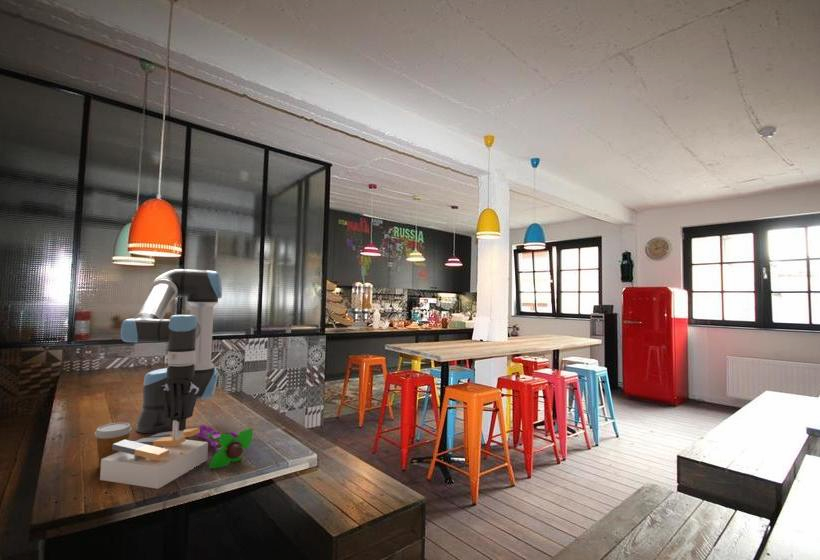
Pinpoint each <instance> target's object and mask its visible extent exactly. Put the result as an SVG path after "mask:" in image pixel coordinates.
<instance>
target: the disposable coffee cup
mask: <svg viewBox="0 0 820 560" xmlns="http://www.w3.org/2000/svg"><path fill="white" fill-rule="evenodd" d="M132 429H133V427H131V424H130V422H129V423H128V422H113V423H108V424H103V425H101V426H99V427H97V428H96V430H95V432H94V436H95V437H96V448H97V458H98V468H99V469H101V459H103V458H105V457H108V456H110V455H113V454H115V453H117V452H120V451H116V450H112V446H113V444H114V443H117V442H120V441H122V440H129V438H130V433H131V431H132Z"/></svg>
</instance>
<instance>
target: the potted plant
mask: <svg viewBox="0 0 820 560" xmlns="http://www.w3.org/2000/svg"><path fill="white" fill-rule="evenodd" d="M199 428H200V433H198V434H195V436H197V437H200V438H202V439H204V440H205V441H207V442H210V443H209V446H212V447H214V449H215V453H214V455H213V457H212V459H211V462H210V463H209V468H211V469H217V468H216V467H218V468H223V467H226V466H228V465H229V464H230V463H231V462H232V463H233V462H237V461H240V460H241V459H242V454H243V452H244V450H246V449H248V448H249V447H250V445H251V444H252V440H253V433H254V432H253V428H248V429H245V430H243V431H240V432H239V433H238V434H236V433H235V432H234V431H230V432H226V433H220V432H218V431H217V432H216V431H215V430H214V428H212V427H208V426H206V425H205V424H202V425H200V426H199ZM216 441H217V442H216ZM219 444H220V445H221V447H219V446H218V445H219ZM217 446H218V447H217Z"/></svg>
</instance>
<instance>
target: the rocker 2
mask: <svg viewBox="0 0 820 560" xmlns="http://www.w3.org/2000/svg"><path fill="white" fill-rule="evenodd" d="M198 433H200V427H194V428H193V427H192V428H185V430H184V436H185V438H190V437H194V436H196V434H198ZM154 437H172V430H169V431H164V432H158V433H154V434H153V435H151V436H148V438H154Z"/></svg>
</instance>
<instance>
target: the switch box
mask: <svg viewBox="0 0 820 560" xmlns="http://www.w3.org/2000/svg"><path fill="white" fill-rule="evenodd" d="M158 447H160V448H164V449H169V455H167V456H165V457H163V458H161V459H159V460H154V459H150V458H146V457H141V456H137V455H133V454H129V453H124V452H117V453H115V454H113V455H110V456H108V457H105V458H103V459H101V468H100V473H99V475H100V476H99V481H105V482H110V483H117V484H118V483H119V484H126V485H130V486H139V487H142V488H143V487H144V488H151V489H160V488H162V487H164V486H165V485H167V484H169V483H171V482H172V481H174V480H176V479H178V478H180V477H181V476H183V475H185V474H186V473H188V472H190V471H191V470H193V469H195V468H197V467H198V466H200V465H201V463H202V464H204V463H205V462H207V461H208V449H209V441H202V440H192V439H186V438H185V441H184V442H182V443H180V444H178V445H176V446H158ZM206 460H207V461H206ZM203 462H204V463H203ZM196 466H197V467H196ZM194 467H195V468H194ZM189 470H190V471H189Z"/></svg>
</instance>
